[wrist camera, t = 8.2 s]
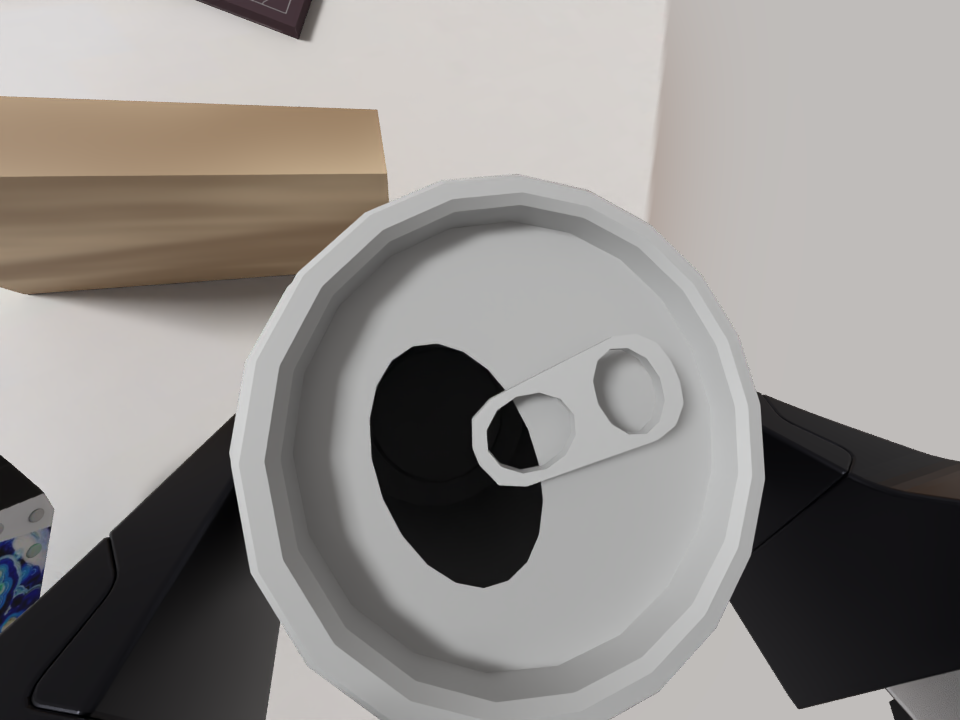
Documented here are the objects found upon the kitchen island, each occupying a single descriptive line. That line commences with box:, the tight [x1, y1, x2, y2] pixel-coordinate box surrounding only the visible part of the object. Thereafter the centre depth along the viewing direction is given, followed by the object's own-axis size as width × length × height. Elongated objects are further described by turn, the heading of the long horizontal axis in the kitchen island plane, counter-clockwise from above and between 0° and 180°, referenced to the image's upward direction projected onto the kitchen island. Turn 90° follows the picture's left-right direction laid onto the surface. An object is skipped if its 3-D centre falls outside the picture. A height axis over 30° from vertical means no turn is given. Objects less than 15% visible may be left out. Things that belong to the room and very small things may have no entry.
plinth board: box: [0, 96, 389, 294], centre depth 12 cm, size 2×14×7 cm, turn 100°
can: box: [229, 174, 765, 720], centre depth 9 cm, size 8×8×12 cm
